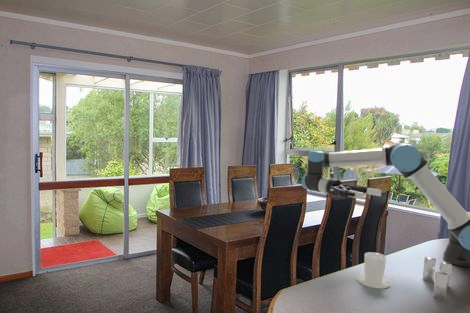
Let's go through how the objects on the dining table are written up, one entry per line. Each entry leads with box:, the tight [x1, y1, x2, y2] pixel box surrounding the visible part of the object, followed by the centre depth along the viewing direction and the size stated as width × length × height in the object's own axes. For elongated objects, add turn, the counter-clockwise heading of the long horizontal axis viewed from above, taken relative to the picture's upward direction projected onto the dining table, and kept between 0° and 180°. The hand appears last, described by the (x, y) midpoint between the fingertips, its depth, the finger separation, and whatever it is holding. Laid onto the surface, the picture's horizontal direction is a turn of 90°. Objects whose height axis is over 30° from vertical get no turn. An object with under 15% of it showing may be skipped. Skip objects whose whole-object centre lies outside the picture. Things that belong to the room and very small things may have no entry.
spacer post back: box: [438, 260, 453, 289], centre depth 148 cm, size 4×4×9 cm
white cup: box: [363, 251, 387, 284], centre depth 148 cm, size 8×8×10 cm
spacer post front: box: [432, 271, 448, 302], centre depth 137 cm, size 4×4×9 cm
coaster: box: [356, 274, 391, 290], centre depth 149 cm, size 12×12×1 cm
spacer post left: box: [422, 256, 437, 283], centre depth 152 cm, size 4×4×9 cm
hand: (372, 194), depth 159 cm, fingers open, 13 cm apart
